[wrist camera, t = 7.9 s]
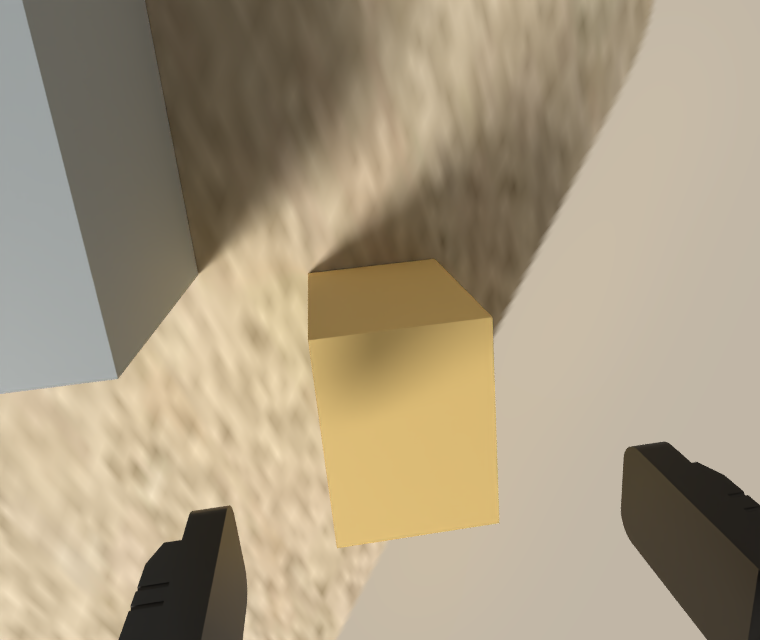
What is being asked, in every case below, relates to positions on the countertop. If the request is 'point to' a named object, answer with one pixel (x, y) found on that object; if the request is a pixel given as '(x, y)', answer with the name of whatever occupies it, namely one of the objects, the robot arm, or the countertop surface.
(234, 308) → the countertop surface
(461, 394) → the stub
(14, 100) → the block
